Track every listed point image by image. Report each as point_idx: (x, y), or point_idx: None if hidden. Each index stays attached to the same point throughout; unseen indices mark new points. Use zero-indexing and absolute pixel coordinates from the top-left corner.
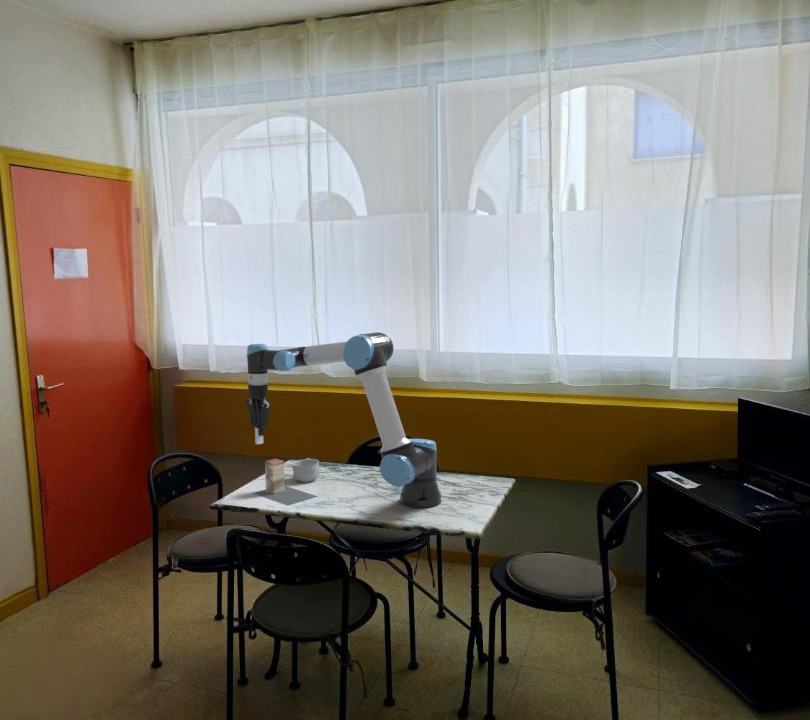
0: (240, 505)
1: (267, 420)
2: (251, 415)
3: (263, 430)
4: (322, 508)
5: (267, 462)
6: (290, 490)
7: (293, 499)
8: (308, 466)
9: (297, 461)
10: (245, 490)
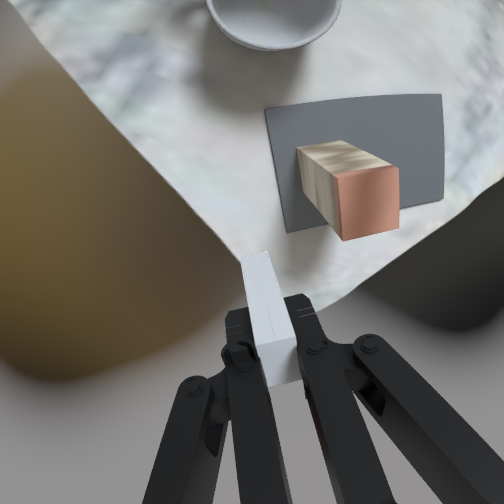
0: (352, 288)
1: (416, 374)
2: (214, 488)
3: (318, 320)
4: (493, 143)
5: (359, 235)
6: (346, 120)
7: (420, 162)
8: (338, 12)
9: (210, 1)
10: (233, 235)
